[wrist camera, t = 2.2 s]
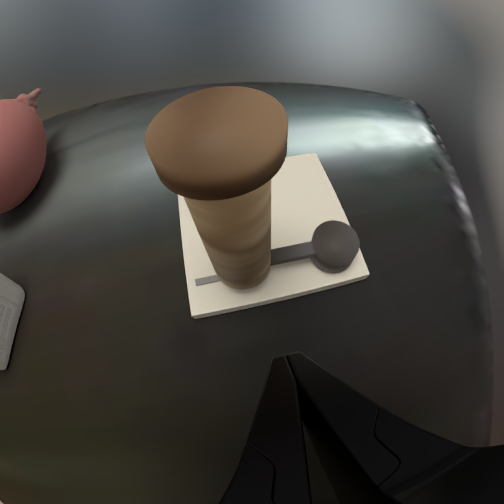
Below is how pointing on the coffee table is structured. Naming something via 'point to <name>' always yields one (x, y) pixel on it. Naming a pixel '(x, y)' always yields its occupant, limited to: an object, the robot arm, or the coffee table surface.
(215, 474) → the coffee table surface
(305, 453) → the robot arm
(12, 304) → the photo printer
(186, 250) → the dial board
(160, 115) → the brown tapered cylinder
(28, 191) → the balloon
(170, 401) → the coffee table surface
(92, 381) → the coffee table surface
